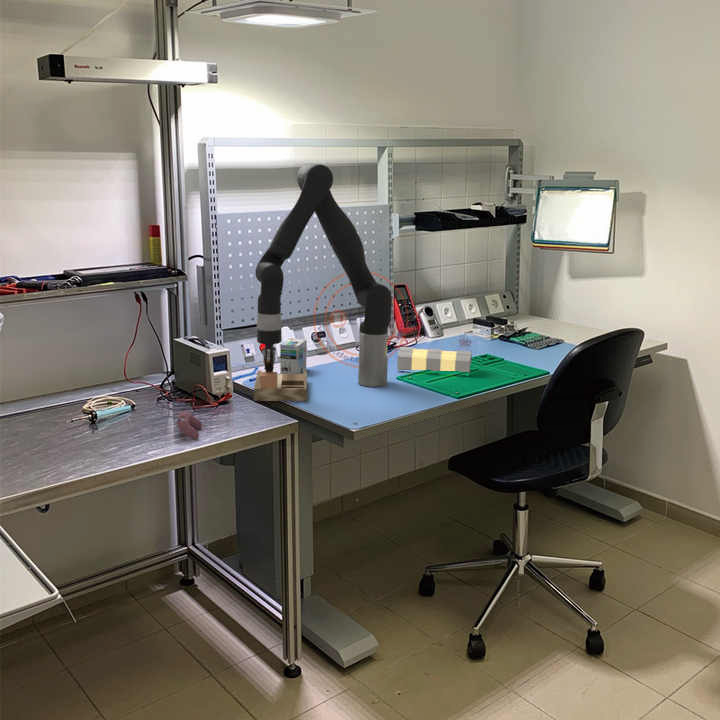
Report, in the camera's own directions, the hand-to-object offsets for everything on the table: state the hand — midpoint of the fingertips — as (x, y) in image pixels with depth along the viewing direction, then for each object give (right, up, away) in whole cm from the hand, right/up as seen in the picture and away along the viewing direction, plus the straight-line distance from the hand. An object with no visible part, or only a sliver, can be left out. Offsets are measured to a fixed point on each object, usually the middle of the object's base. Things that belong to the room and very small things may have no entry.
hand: (269, 381), depth 252 cm
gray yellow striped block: (+54, +2, +32) cm, 63 cm away
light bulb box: (+5, +2, +26) cm, 27 cm away
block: (0, -2, -5) cm, 5 cm away
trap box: (+3, -3, +3) cm, 6 cm away
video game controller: (-17, -13, -38) cm, 43 cm away
